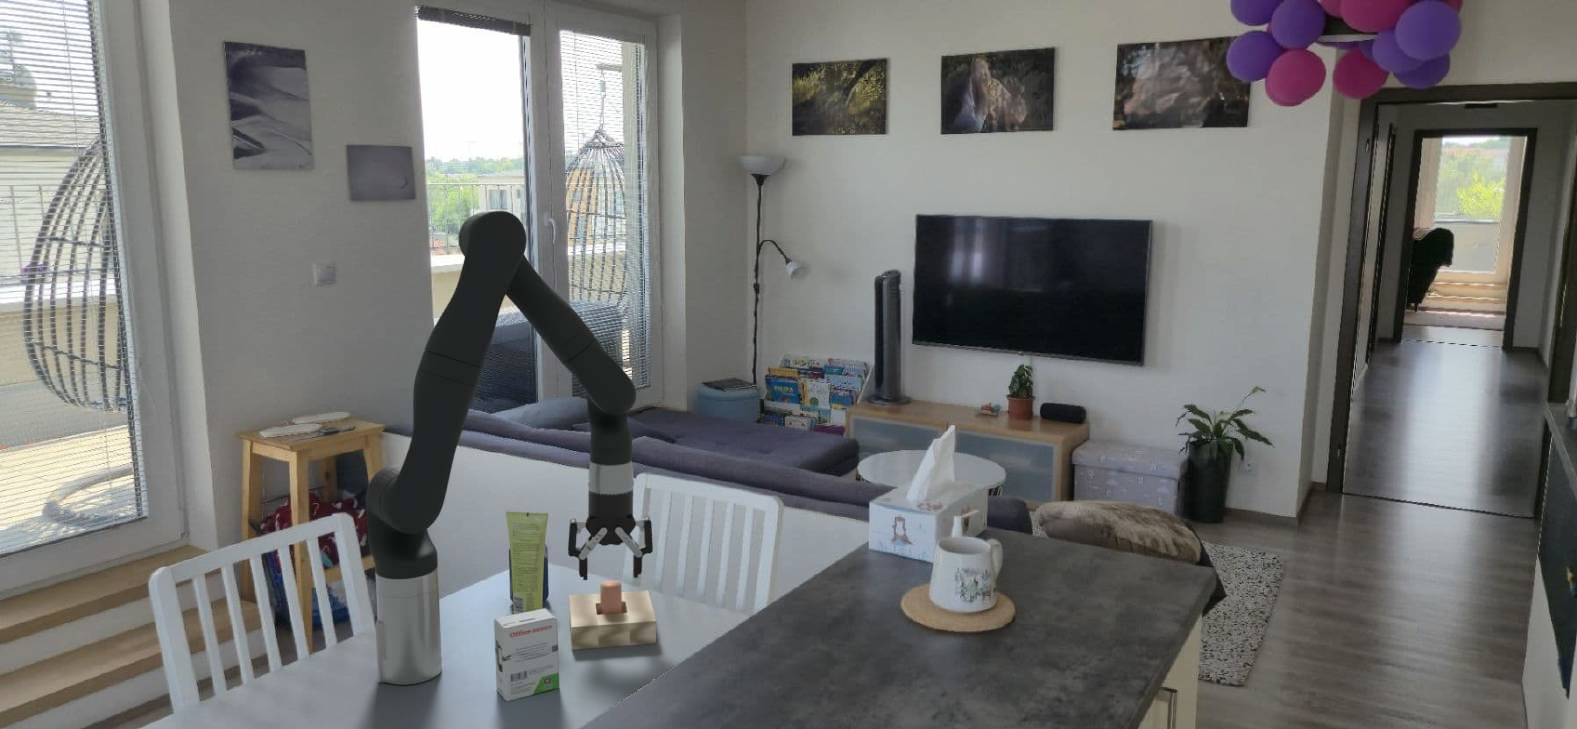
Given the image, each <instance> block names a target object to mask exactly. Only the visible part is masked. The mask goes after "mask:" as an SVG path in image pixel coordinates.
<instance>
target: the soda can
mask: <svg viewBox="0 0 1577 729" xmlns="http://www.w3.org/2000/svg"><path fill="white" fill-rule="evenodd" d="M548 551H549V550H548V546H547V544H546V543H545V552H544V571H543V599H542V604H543V605H544V604H545V603H546V601H547V599H548V597H549V595H550V594H549V592H550V591H549V590H550V588H549V552H548ZM508 566H509V568H508V570H509V572H508V573H509V598H510V601H511V602H512V603H513V583H512V566H511V552H510V548H509V549H508Z"/></svg>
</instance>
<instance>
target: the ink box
mask: <svg viewBox="0 0 1577 729" xmlns="http://www.w3.org/2000/svg"><path fill="white" fill-rule="evenodd" d="M493 623H494V624H493V625H494V627H493V629H494V630H493V631H494V655H495V676H496V679H495V680H496V681H495V682H496V691H497V692H498V693H499V695H500V696H501V695H502V696H503V697H502V698H503V699H504V700H505V701H506V702H511V701H515V700H518V699H522V698H525V697H529V696H533V695H536V694H537V695H538V694H541V693H544V692H549V691H552V690H555V689H560V686H561V685H560V666H559V664H560V663H559V662H560V661H559V660H560V659H559V641H558V640H559V639H558V638H559V634H558V632H559V631H558V618H557V617H556V616H555V615H554V614H553V612H551V611H550V610H549V609H548V608H546V607H544V608H542V609H539V610H535V611H530V612H525V613H520V614H515V615H514V614H511V615H506V616H501V617H496V618H494V620H493Z"/></svg>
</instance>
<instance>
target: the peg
mask: <svg viewBox="0 0 1577 729" xmlns="http://www.w3.org/2000/svg"><path fill="white" fill-rule="evenodd" d="M599 587H600V588H599V589H600V593H599V594H600V598H601V615H603V614H618V613H622V593H621V592H622V582H620V581H618V580H606V581H605V580H604V581H603V582H601V583H600V586H599Z"/></svg>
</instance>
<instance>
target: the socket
mask: <svg viewBox="0 0 1577 729" xmlns="http://www.w3.org/2000/svg"><path fill="white" fill-rule="evenodd" d="M649 592H650V591H649V590H635V591H634V590H632V591H621V593H622V613H618V614H603V615H601V598H600V593H589V594H572V595H571V594H569V596H568V597H569V598H568V604H569V605H568V606H569V610H568V611H569V628H570V644H571V645H570V646H571V650H573V651H574V650H586V649H588V650H589V649H601V648H612V647H613V648H615V647H628V646H629V647H630V646H638V645H639V646H640V645H641V646H642V645H653V644H657V620H656V617H655V611H654V609H653V604H652V601H651V597H650V593H649Z"/></svg>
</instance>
